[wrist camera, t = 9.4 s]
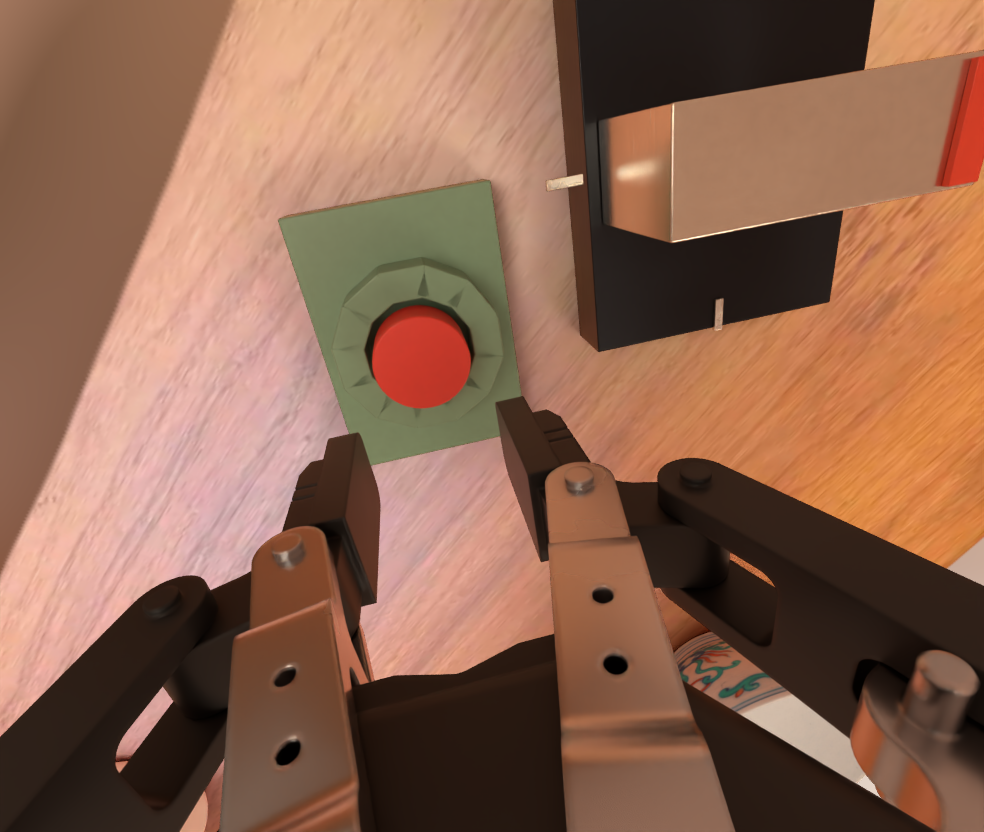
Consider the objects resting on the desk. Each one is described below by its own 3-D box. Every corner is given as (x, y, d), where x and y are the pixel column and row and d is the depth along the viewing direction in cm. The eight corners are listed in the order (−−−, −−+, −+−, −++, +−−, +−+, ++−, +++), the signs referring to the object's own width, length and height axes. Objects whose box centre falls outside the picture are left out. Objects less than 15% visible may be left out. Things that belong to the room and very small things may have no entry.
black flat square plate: (504, -36, 18) (521, -67, 16) (873, -91, 19) (941, -127, 17) (548, 344, 24) (564, 363, 22) (820, 286, 26) (864, 298, 23)
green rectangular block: (286, 215, 20) (266, 224, 17) (483, 179, 21) (499, 181, 18) (362, 450, 25) (357, 490, 22) (519, 415, 26) (536, 449, 23)
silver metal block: (602, 225, 20) (674, 245, 15) (597, 119, 18) (676, 101, 13) (837, 181, 21) (982, 185, 16) (853, 76, 19) (1020, 43, 14)
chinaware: (794, 553, 34) (895, 651, 27) (807, 682, 41) (890, 785, 34) (585, 638, 34) (633, 757, 27) (634, 752, 41) (682, 869, 34)
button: (362, 314, 19) (360, 327, 18) (456, 296, 20) (461, 307, 18) (386, 399, 21) (386, 418, 19) (472, 381, 21) (478, 397, 20)
